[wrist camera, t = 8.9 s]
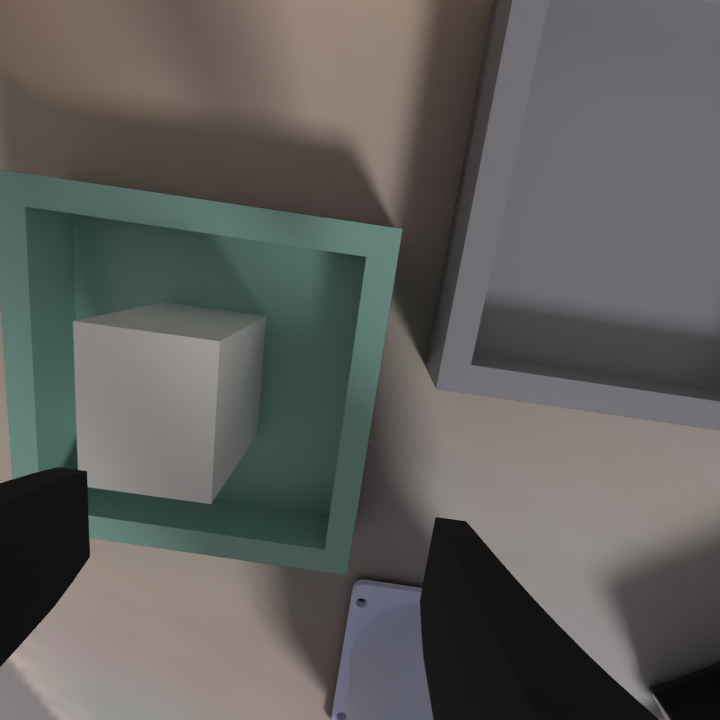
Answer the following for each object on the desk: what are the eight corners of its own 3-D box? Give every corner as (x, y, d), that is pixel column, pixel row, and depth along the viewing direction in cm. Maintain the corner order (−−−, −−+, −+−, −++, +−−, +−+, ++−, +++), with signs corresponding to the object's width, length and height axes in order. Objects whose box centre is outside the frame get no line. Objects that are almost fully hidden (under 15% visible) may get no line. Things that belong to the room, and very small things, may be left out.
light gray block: (256, 434, 17) (211, 504, 12) (161, 421, 17) (78, 485, 12) (266, 316, 16) (219, 341, 11) (164, 302, 16) (72, 321, 11)
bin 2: (736, 412, 17) (810, 443, 14) (425, 366, 17) (435, 388, 14) (874, 54, 14) (1006, 1, 11) (494, -3, 14) (526, -71, 11)
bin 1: (351, 526, 19) (347, 575, 16) (70, 485, 19) (15, 527, 16) (397, 234, 16) (402, 228, 13) (61, 184, 16) (-9, 168, 13)
